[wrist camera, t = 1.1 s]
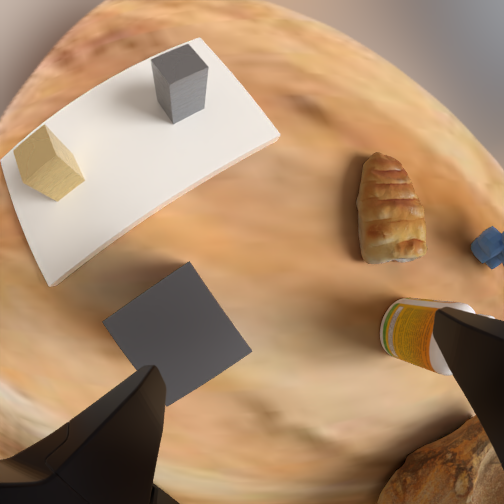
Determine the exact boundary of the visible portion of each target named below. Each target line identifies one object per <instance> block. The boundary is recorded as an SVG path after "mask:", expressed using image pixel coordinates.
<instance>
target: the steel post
mask: <svg viewBox="0 0 504 504" xmlns="http://www.w3.org/2000/svg"><path fill="white" fill-rule="evenodd" d="M151 66H152V72H153V78H154V84H155V90H156V96H157V101H158V103H159V104H160V106H161V107H162V108H163V110H164V111H165V113H166V114H167V116H168V117H169V119H170V120H171V122H172V123H173V124H175V123H177V122H179V121H181V120H183V119H185V118H187V117H189V116H191V115H192V114H194V113H196V112H198V111H200V110H202V109H204V108H205V97H206V87H207V78H208V69H209V67H208V66H207V65H206V63H205V62H204V61H203V60H202V59H201V58H200V56H199V55H198V54H197V53H196V52H195V51H194V49H193V48H192V47H191V46H190V45H189V44H186V45H183V46H180V47H178V48H176V49H173V50H171V51H168V52H166V53H164V54H161V55H159V56H157V57H155V58H153V59H151Z"/></svg>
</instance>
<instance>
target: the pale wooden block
mask: <svg viewBox="0 0 504 504" xmlns="http://www.w3.org/2000/svg"><path fill="white" fill-rule="evenodd" d="M13 153H14V156H15V159H16V163H17V166H18V169H19V172H20V175H21V178H22V181H23V183H24V184H26V185H28V186H30V187H32V188H33V189H35V190H37V191H39V192H41V193H42V194H44V195H46V196H48V197H50V198H52V199H53V200H55V201H57V202H58V201H59V200H60V199H62V198H63V197H64V196H65V195H67V194H68V193H69V192H71V191H72V190H73V189H75V188H76V187H77V186H78V185H80V184H81V183H82V182H84V181H85V179H84V177H83V175H82V173H81V171H80V168H79V166H78V164H77V162H76V160H75V158H74V156H73V154H72V153H71V152H70V150H69V149H68V148H67V147H66V146H65V145H64V144H63V143H62V142H61V141H60V140H59V139H58V138H57V137H56V136H55V135H54V134H53V133H52V131H51V130H50V129H49V128H48V127H47V126H46V125H45V124H44V125H43V126H41V127H40V128H39V129H38V130H36V131H35V132H34V133H33V134H32V135H30V136H29V137H28V138H27V139H26V140H24V141H23V142H22V143H21V144H20V145H19V146H18V147H16V148H15V149H14V150H13Z"/></svg>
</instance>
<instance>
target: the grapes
mask: <svg viewBox="0 0 504 504" xmlns="http://www.w3.org/2000/svg"><path fill="white" fill-rule="evenodd" d="M471 250H472V252H473V254H474V256H475V257H476V258H477V259H478V260H479V261H480V262H481V263H482V264H483V263H484V262H485V263H486V264H487V265H488V267H490V268H491V269H494V268H495V267H497V266H499V265H500V264H501V263H503V265H504V232H503V233H500V232H499V231H498V230H497V229H496V228H494V227H493V226H491V227H489V228H488V229H486V230H485V231H483V232H482V233H481V235H480V236H479V237H478V238H476V239H475V240H474V241H473V242H472V244H471Z"/></svg>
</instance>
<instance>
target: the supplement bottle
mask: <svg viewBox="0 0 504 504" xmlns="http://www.w3.org/2000/svg"><path fill="white" fill-rule="evenodd" d="M443 307H451V308H455V309H459V310H462V311H466V312H470V313H474V314H476V313H475V311H474V310H473V309H472V308H471V307H470V306H469V305H467V304H465V303H459V302H448V301H437V300H428V299H418V298H402V299H399V300H397V301H396V302H394V303H393V304H392V305H391V306H390V307H389V308H388V310H387V311H386V313H385V315H384V317H383V319H382V322H381V326H380V340H381V344H382V346H383V348H384V350H385V351H386V352H387V353H388V354H389V355H391V356H393V357H395V358H398V359H401V360H403V361H406V362H409V363H411V364H414V365H417V366H420V367H422V368H425V369H428V370H430V371H433V372H436V373H439V374H442V375H453V374H452V373H451V371H450V369H449V367H448V365H447V363H446V361H445V359H444V357H443V355H442V353H441V351H440V349H439V347H438V345H437V343H436V341H435V339H434V337H433V325H434V317H435V312H436V310H438V309H440V308H443ZM478 315H482V316H486V317H489V318H493V319H495V318H494V317H493V316H489V315H483V314H478Z"/></svg>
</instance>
